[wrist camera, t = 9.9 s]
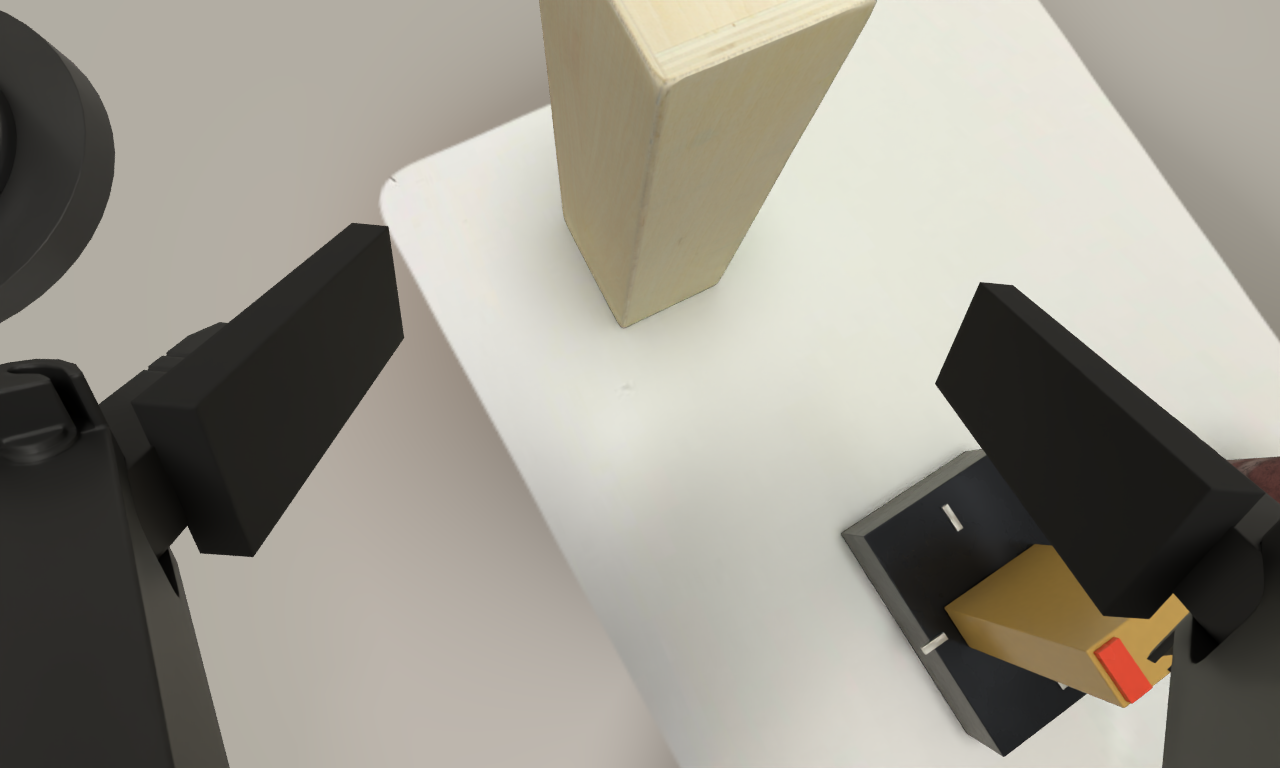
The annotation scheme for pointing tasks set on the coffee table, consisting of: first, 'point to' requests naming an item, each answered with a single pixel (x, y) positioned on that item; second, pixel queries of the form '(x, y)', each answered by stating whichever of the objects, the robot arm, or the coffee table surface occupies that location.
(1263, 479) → the can
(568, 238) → the coffee table surface
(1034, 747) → the coffee table surface
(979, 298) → the robot arm
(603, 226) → the cream tall block
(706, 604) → the coffee table surface
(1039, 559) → the wooden block
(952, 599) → the black tick-marked plate
